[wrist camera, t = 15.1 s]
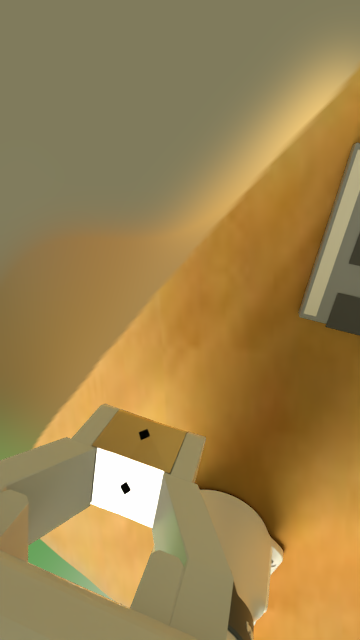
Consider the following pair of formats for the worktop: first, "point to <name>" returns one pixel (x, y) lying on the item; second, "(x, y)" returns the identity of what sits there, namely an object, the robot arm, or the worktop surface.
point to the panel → (338, 259)
